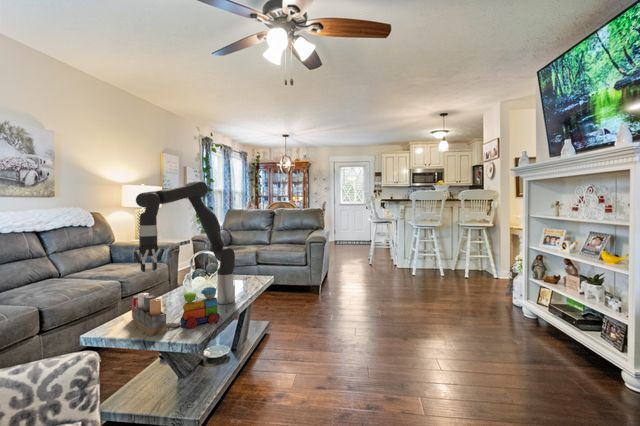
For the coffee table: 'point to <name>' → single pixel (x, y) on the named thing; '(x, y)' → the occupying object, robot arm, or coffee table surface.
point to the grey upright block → (147, 303)
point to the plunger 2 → (155, 307)
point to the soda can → (134, 304)
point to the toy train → (199, 309)
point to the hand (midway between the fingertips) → (148, 270)
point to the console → (150, 322)
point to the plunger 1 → (141, 300)
